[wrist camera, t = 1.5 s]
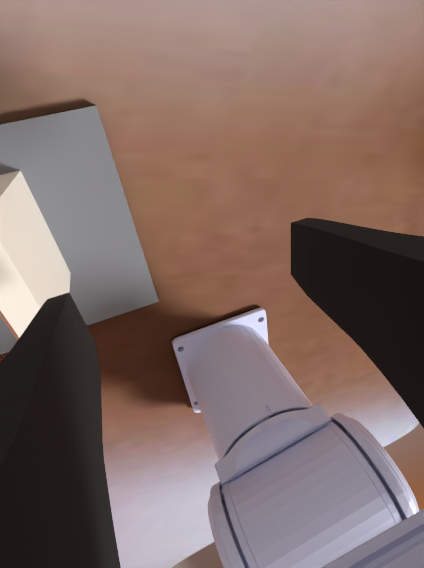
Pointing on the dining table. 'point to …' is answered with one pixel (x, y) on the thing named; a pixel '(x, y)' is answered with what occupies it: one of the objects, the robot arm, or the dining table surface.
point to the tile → (26, 256)
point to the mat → (80, 211)
